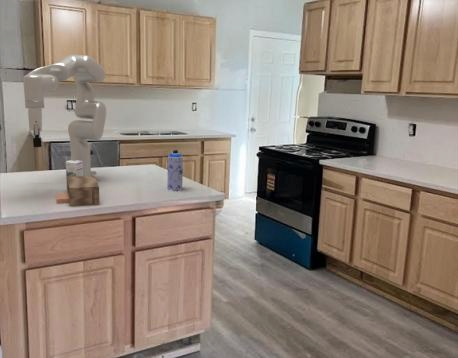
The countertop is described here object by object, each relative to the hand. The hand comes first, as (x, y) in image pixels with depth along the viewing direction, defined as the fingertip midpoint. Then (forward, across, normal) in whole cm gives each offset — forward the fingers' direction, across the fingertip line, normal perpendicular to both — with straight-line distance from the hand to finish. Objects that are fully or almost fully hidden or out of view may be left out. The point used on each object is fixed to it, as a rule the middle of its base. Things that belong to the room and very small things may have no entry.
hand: (37, 146), depth 194 cm
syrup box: (+24, -9, +15) cm, 30 cm away
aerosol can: (+24, 0, +63) cm, 67 cm away
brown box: (+23, +7, +17) cm, 30 cm away
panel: (+24, +8, +13) cm, 28 cm away
